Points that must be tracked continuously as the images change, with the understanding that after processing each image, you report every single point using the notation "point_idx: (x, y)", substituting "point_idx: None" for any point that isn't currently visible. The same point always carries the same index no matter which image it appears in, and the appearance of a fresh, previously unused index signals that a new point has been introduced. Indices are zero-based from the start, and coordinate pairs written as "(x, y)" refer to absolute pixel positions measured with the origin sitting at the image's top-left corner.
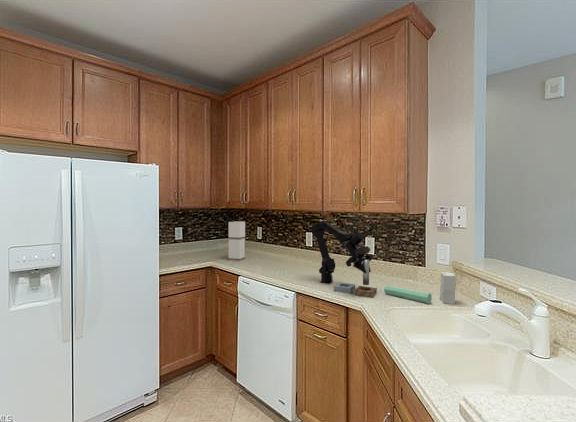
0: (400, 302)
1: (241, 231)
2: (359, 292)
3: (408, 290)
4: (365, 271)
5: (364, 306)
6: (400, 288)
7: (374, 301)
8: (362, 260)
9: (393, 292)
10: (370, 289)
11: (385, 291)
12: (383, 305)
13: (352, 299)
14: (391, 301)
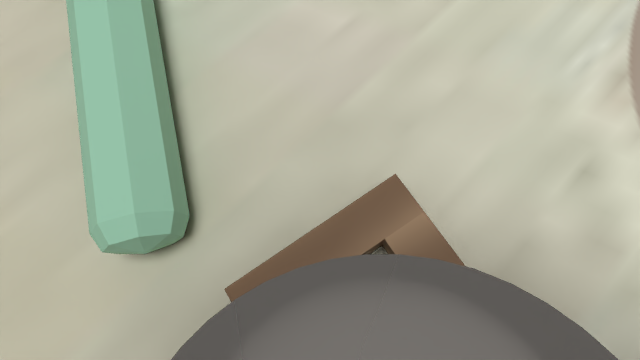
0: (270, 11)
1: None
2: None
3: (100, 1)
4: None
5: (624, 47)
6: (96, 80)
7: (448, 109)
8: None
9: (169, 131)
10: None
11: (185, 215)
12: (449, 9)
13: (622, 245)
14: (313, 53)
